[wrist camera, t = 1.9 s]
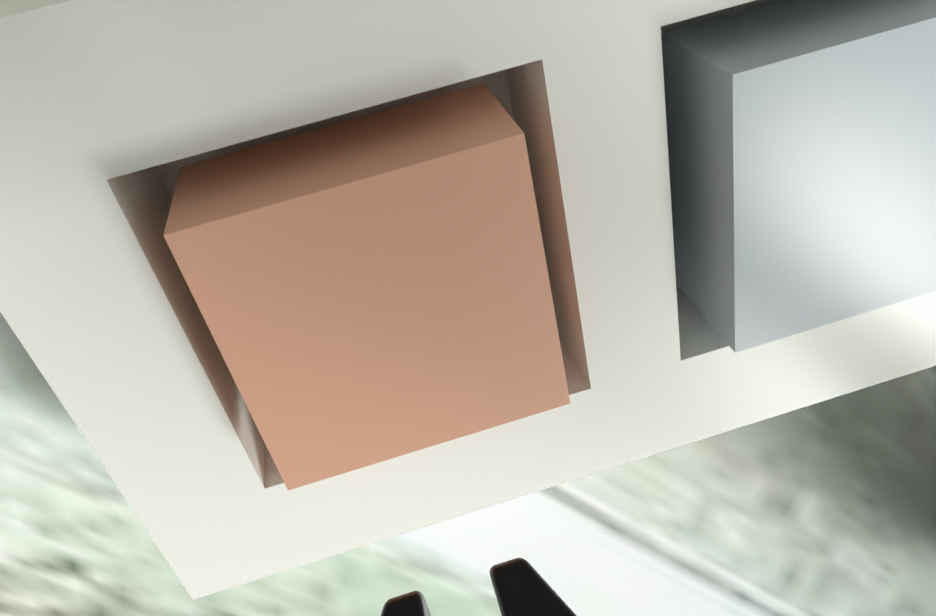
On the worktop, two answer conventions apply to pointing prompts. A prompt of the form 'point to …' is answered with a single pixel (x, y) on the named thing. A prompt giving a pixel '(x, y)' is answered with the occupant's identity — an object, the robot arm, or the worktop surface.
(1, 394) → the worktop surface
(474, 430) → the terracotta key
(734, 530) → the worktop surface
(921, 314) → the keypad
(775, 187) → the slate key
